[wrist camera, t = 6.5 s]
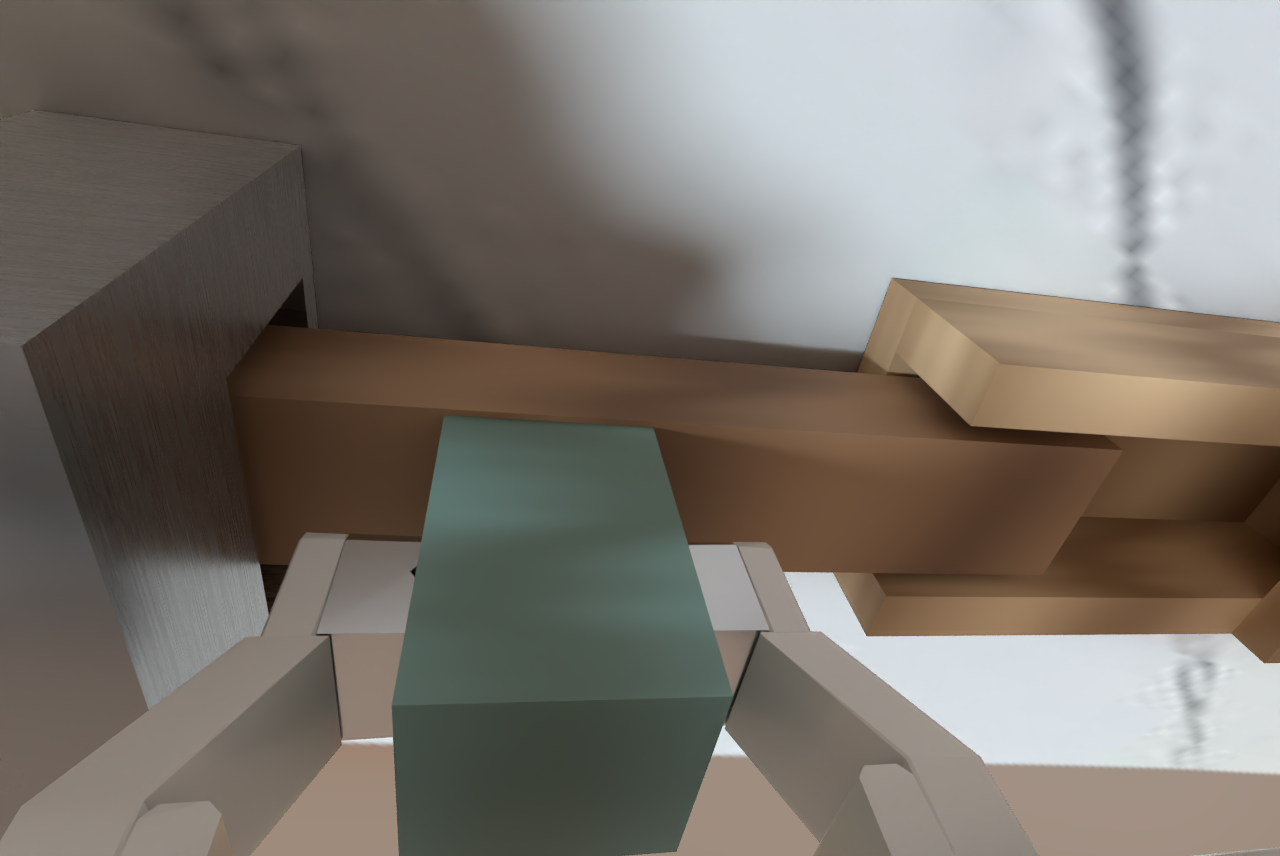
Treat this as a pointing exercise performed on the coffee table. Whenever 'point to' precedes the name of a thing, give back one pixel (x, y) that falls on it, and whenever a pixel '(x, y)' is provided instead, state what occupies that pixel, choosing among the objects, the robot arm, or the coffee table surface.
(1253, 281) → the coffee table surface
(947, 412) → the slide bar
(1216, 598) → the guide channel
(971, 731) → the coffee table surface
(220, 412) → the socket block
